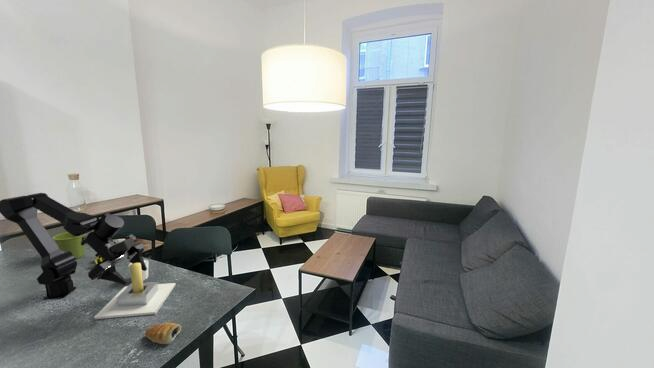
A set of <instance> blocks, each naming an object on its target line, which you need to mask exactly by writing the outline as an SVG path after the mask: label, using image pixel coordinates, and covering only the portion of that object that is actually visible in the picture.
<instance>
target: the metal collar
mask: <svg viewBox="0 0 654 368" xmlns="http://www.w3.org/2000/svg"><path fill="white" fill-rule="evenodd" d="M158 284H159V282H158V281H151V282H150V281H149V282H147V281H146V282H143V288H144V291H143V292H142V293H133V289H132V282H131V283H130V284H129V285H127V286H128V287H127V288H126V289H125V290H124V291H123V292H122V293H121V294H120V295H119V296H118V297H117V304H118V307H125V306H138V305H147V304H148V303H149V301H150V300H151V299H152V298H153V296H154V295H155V294H156V292H157V291H158Z"/></svg>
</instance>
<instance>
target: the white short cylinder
mask: <svg viewBox="0 0 654 368" xmlns="http://www.w3.org/2000/svg"><path fill="white" fill-rule="evenodd" d="M143 260H144V262H145V265H146V267H147V270H146V271H143V270H142V278H143V282H144V281H145V279H146V280H147V279H148V278H149V263H150V262H149V260H148V259H145V258H143ZM131 264H132V263H131V262H129V263H128V265H127V266H128V270H129V275H130V276H131V272H130V265H131Z"/></svg>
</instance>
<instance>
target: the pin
mask: <svg viewBox="0 0 654 368" xmlns="http://www.w3.org/2000/svg"><path fill="white" fill-rule="evenodd" d="M130 272H131V275H130V278H131V279H130V281H131V283H132V289H133V293H142V292H143V291H144V288H143V283H144V281H143V278H142V269H141V263H133V264H131V265H130V271H129V273H130Z"/></svg>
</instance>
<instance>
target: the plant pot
mask: <svg viewBox="0 0 654 368" xmlns="http://www.w3.org/2000/svg"><path fill="white" fill-rule="evenodd" d="M87 235H88V233H86V234H83V235H80V236H73V235H72V234H70V233H69V232H68V231H66V232H61V233H59V234H56V235H54V236H53V237H52V239H53V241H54V242H55V243H56V245H57V246H58V248H59V249H60V250H62V251H64V252H67V251H70V252H71V253H72V255H73V256H74V257H75V258H76V259H79V258H81V257H83V256H84V255H85V248H86V247H85V245H86V244H85V245H83V246H82V245H81V241H82V237H85V236H87Z"/></svg>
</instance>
